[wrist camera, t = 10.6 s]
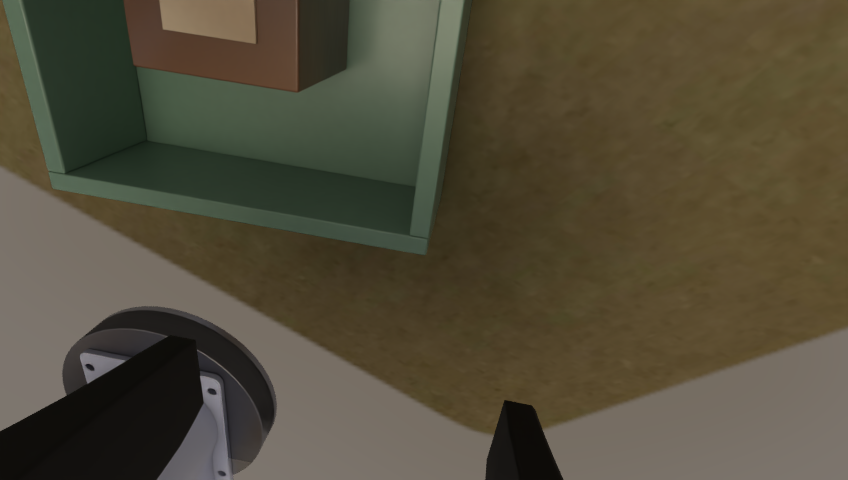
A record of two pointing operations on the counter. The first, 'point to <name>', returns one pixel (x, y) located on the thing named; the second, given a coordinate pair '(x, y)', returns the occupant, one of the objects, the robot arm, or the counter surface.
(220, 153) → the tray
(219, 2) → the letter block
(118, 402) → the robot arm
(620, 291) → the counter surface
